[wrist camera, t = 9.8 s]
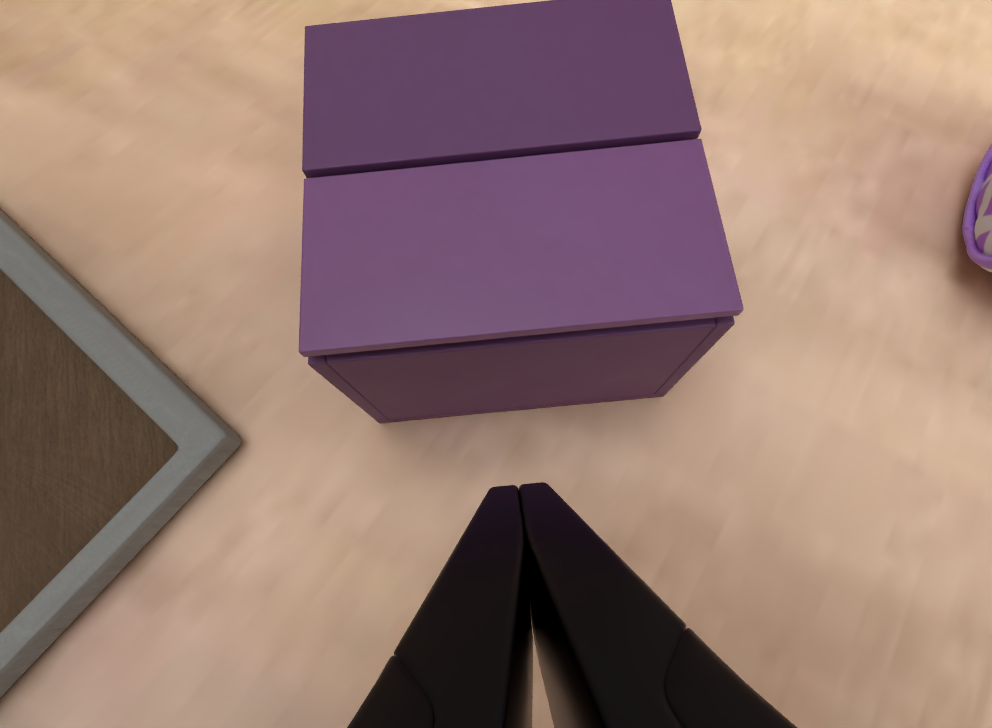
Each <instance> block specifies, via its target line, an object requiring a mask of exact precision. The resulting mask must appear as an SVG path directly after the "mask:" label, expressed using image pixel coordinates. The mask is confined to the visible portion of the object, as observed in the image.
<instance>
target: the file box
mask: <svg viewBox="0 0 992 728" xmlns="http://www.w3.org/2000/svg"><path fill="white" fill-rule="evenodd" d="M700 132H701V126H700V122H699V118H698V113H697V109H696V105H695V101H694V96H693V92H692V88H691V84H690V79H689V75H688V71H687V67H686V62H685V58H684V54H683V50H682V45H681V41H680V37H679V33H678V28H677V24H676V20H675V16H674V11H673V7H672V3H671V0H551V1H541V2H532V3H522V4H513V5H503V6H494V7H484V8H474V9H465V10H455V11H446V12H436V13H427V14H417V15H408V16H398V17H389V18H379V19H370V20H360V21H351V22H341V23H332V24H322V25H313V26H306V27H305V56H304V108H303V160H302V170H303V172H304V174H305V176H306V177H307V178H316V177H326V176H336V175H346V174H355V173H365V172H375V171H385V170H395V169H405V168H415V167H425V166H435V165H445V164H454V163H464V162H474V161H484V160H494V159H504V158H514V157H524V156H534V155H544V154H553V153H563V152H573V151H583V150H593V149H603V148H613V147H623V146H633V145H643V144H653V143H662V142H672V141H682V140H692V139H697V138H698V136H699V134H700ZM733 325H734V318H733V316H726V317H715V318H705V319H695V320H684V321H674V322H663V323H653V324H643V325H632V326H622V327H611V328H601V329H591V330H580V331H570V332H559V333H549V334H539V335H528V336H518V337H507V338H497V339H487V340H476V341H466V342H455V343H445V344H435V345H424V346H414V347H403V348H393V349H383V350H372V351H362V352H351V353H341V354H330V355H320V356H310V357H308V364H309V365H310V366H311V367H312V368H313V369H314V370H316V371H317V372H318V373H319V374H320V375H322V376H323V377H324V378H325V379H327V380H328V381H329V382H330V383H331V384H333V385H334V386H335V387H336V388H337V389H339V390H340V391H341V392H342V393H344V394H345V395H346V396H347V397H348V398H350V399H351V400H352V401H353V402H354V403H356V404H357V405H358V406H359V407H361V408H362V409H363V410H364V411H365V412H367V413H368V414H369V415H370V416H371V417H373V418H374V419H375V420H376V421H377V422H379V423H385V422H396V421H407V420H417V419H428V418H439V417H449V416H460V415H470V414H481V413H492V412H502V411H513V410H524V409H534V408H545V407H555V406H566V405H577V404H587V403H598V402H609V401H619V400H630V399H640V398H651V397H662V396H664V395H665V394H666V393H667V392H668V391H669V390H670V389H671V388H672V387H673V386H674V385H675V384H676V383H677V382H678V381H679V380H680V379H681V378H682V377H683V376H684V375H685V374H686V373H687V371H688V370H689V369H690V368H691V367H692V366H693V365H694V364H695V363H696V362H697V361H698V360H699V359H700V358H701V357H702V356H703V355H704V354H705V353H706V352H707V351H708V350H709V349H710V348H711V347H712V346H713V345H714V344H715V343H716V342H717V341H718V340H719V339H720V338H721V337H722V336H723V335H724V334H725V333H726V332H727V331H728V330H729V329H730V328H731V327H732V326H733Z"/></svg>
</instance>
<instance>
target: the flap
mask: <svg viewBox="0 0 992 728" xmlns="http://www.w3.org/2000/svg"><path fill="white" fill-rule="evenodd" d="M742 311H743V305H742V301H741V297H740V293H739V289H738V285H737V281H736V277H735V273H734V269H733V265H732V261H731V257H730V253H729V249H728V245H727V241H726V237H725V233H724V229H723V225H722V221H721V217H720V213H719V209H718V205H717V201H716V197H715V193H714V189H713V185H712V181H711V177H710V173H709V169H708V165H707V161H706V157H705V153H704V149H703V145H702V140H701V139H692V140H682V141H672V142H662V143H653V144H643V145H633V146H623V147H613V148H603V149H593V150H583V151H573V152H563V153H553V154H544V155H534V156H524V157H514V158H504V159H494V160H484V161H474V162H464V163H454V164H445V165H435V166H425V167H415V168H405V169H395V170H385V171H375V172H365V173H355V174H346V175H336V176H326V177H316V178H306V179H304V199H303V231H302V264H301V297H300V330H299V353H300V354H301V355H303V356H304V357H310V356H320V355H330V354H341V353H351V352H362V351H372V350H383V349H393V348H403V347H414V346H424V345H435V344H445V343H455V342H466V341H476V340H487V339H497V338H507V337H518V336H528V335H539V334H549V333H559V332H570V331H580V330H591V329H601V328H611V327H622V326H632V325H643V324H653V323H663V322H674V321H684V320H695V319H705V318H715V317H726V316H736V315H739V314H740V313H741V312H742Z"/></svg>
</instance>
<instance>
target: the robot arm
mask: <svg viewBox="0 0 992 728" xmlns="http://www.w3.org/2000/svg"><path fill="white" fill-rule="evenodd" d="M531 620H532V623H531ZM532 627H533V634H534V641H535V646H536V651H537V656H538V660H539V664H540V668H541V673H542V677H543V681H544V685H545V690H546V694H547V698H548V702H549V707H550V711H551V715H552V719H553V724H554V728H797V727H796V726H795V725H794V724H792V723H791V722H790V721H789V720H788V719H787V718H785V717H784V716H783V715H782V714H781V713H780V712H779V711H777V710H776V709H775V708H774V707H773V706H772V705H770V704H769V703H768V702H767V701H766V700H765V699H764V698H762V697H761V696H760V695H759V694H758V693H757V692H756V691H754V690H753V689H752V688H751V687H750V686H749V685H747V684H746V683H745V682H744V681H743V680H742V679H741V678H740V677H739V676H738V675H737V674H736V673H735V672H734V671H733V670H732V669H731V668H730V667H729V666H728V665H727V664H725V663H724V662H723V661H722V660H721V659H720V658H719V657H718V656H717V655H716V654H715V653H714V652H713V651H712V650H711V649H710V648H709V647H708V646H707V645H706V644H705V643H704V642H703V641H702V640H701V639H700V638H699V637H698V636H697V635H696V634H695V633H694V632H693V631H692V630H691V629H690V628H687V629H686V624H685V623H684V622H683V621H682V620H681V619H680V618H679V617H678V616H677V615H676V614H675V613H674V612H673V611H672V610H671V609H670V608H669V607H668V606H667V605H666V604H665V603H664V602H663V601H662V600H661V599H660V598H659V597H658V596H657V595H656V594H655V593H654V592H653V591H652V590H651V588H650V587H649V586H648V585H647V584H646V583H645V582H644V581H643V580H642V579H641V578H640V577H639V576H638V575H637V574H636V573H635V572H634V571H633V570H632V569H631V568H630V567H629V566H628V565H627V564H626V563H625V562H624V561H623V560H622V559H621V558H620V557H619V556H618V555H617V554H616V553H615V552H614V551H613V550H612V549H611V548H610V547H609V546H608V545H607V544H606V543H605V542H604V541H603V540H602V539H601V538H600V537H599V536H598V535H597V534H596V533H595V532H594V531H593V530H592V529H591V528H590V527H589V526H588V525H587V524H586V523H585V522H584V521H583V520H582V519H581V518H580V516H579V515H578V514H577V513H576V512H575V511H574V510H573V509H572V508H571V507H570V506H569V505H568V504H567V503H566V502H565V501H564V500H563V499H562V498H561V497H560V496H559V495H558V494H557V493H556V492H555V491H554V490H553V489H552V488H551V487H550V486H549V485H548V484H546V483H543V482H542V483H531V484H523V485H521V486H520V487H519V490H518V488H517V486H515V485H510V486H499V487H492V488H491V489H489V491H488V493H487V494H486V496H485V498H484V499H483V501H482V503H481V505H480V506H479V508H478V510H477V511H476V513H475V515H474V516H473V518H472V520H471V522H470V523H469V525H468V527H467V528H466V530H465V532H464V534H463V535H462V537H461V539H460V540H459V542H458V544H457V545H456V547H455V549H454V551H453V552H452V554H451V556H450V557H449V559H448V561H447V563H446V564H445V566H444V568H443V569H442V571H441V573H440V574H439V576H438V578H437V580H436V581H435V583H434V585H433V586H432V588H431V590H430V591H429V593H428V595H427V597H426V598H425V600H424V602H423V603H422V605H421V607H420V609H419V610H418V612H417V614H416V615H415V617H414V619H413V620H412V622H411V624H410V626H409V627H408V629H407V631H406V632H405V634H404V636H403V638H402V639H401V641H400V643H399V644H398V646H397V648H396V649H395V651H394V656H392V657H391V658H390V659H389V661H388V663H387V664H386V666H385V668H384V669H383V671H382V673H381V675H380V676H379V678H378V680H377V681H376V683H375V685H374V686H373V688H372V690H371V691H370V693H369V694H368V696H367V697H366V699H365V701H364V702H363V704H362V705H361V707H360V709H359V710H358V712H357V713H356V715H355V717H354V718H353V720H352V721H351V723H350V724H349V726H348V727H347V728H532V698H533V636H532Z"/></svg>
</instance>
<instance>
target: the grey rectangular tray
mask: <svg viewBox="0 0 992 728" xmlns="http://www.w3.org/2000/svg"><path fill="white" fill-rule="evenodd" d="M241 441H242V440H241V438H240V437H239V436H238V435H237V434H236V433H235V432H234V431H233V430H232V429H231V428H230V427H229V426H228V425H227V424H226V423H225V422H224V421H223V420H222V419H221V418H220V417H219V416H218V415H217V414H216V413H215V412H214V411H212V410H211V409H210V408H209V407H208V406H207V405H206V404H205V403H204V402H203V401H202V400H201V399H200V398H199V397H198V396H197V395H196V394H195V393H194V392H192V391H191V390H190V389H189V388H188V387H187V386H186V385H185V384H184V383H183V382H182V381H181V380H180V379H179V378H178V377H177V376H176V375H175V374H174V373H172V372H171V371H170V370H169V369H168V368H167V367H166V366H165V365H164V364H163V363H162V362H161V361H160V360H159V359H158V358H157V357H156V356H155V355H154V354H152V353H151V352H150V351H149V350H148V349H147V348H146V347H145V346H144V345H143V344H142V343H141V342H140V341H139V340H138V339H137V338H136V337H135V336H134V335H132V334H131V333H130V332H129V331H128V330H127V329H126V328H125V327H124V326H123V325H122V324H121V323H120V322H119V321H118V320H117V319H116V318H115V317H114V316H112V315H111V314H110V313H109V312H108V311H107V310H106V309H105V308H104V307H103V306H102V305H101V304H100V303H99V302H98V301H97V300H96V299H95V298H94V297H92V296H91V295H90V294H89V293H88V292H87V291H86V290H85V289H84V288H83V287H82V286H81V285H80V284H79V283H78V282H77V281H76V280H75V279H74V278H72V277H71V276H70V275H69V274H68V273H67V272H66V271H65V270H64V269H63V268H62V267H61V266H60V265H59V264H58V263H57V262H56V261H55V260H54V259H52V258H51V257H50V256H49V255H48V254H47V253H46V252H45V251H44V250H43V249H42V248H41V247H40V246H39V245H38V244H37V243H36V242H35V241H34V240H32V239H31V238H30V237H29V236H28V235H27V234H26V233H25V232H24V231H23V230H22V229H21V228H20V227H19V226H18V225H17V224H16V223H15V222H14V221H12V220H11V219H10V218H9V217H8V216H7V215H6V214H5V213H4V212H3V211H2V210H1V209H0V697H1V696H2V695H3V694H4V693H5V692H6V691H7V690H8V689H9V688H10V687H11V686H12V685H13V684H14V683H15V682H16V680H17V679H18V678H19V677H20V676H21V675H22V674H23V673H24V672H25V671H26V670H27V669H28V668H29V667H30V666H31V665H32V664H33V663H34V662H35V661H36V659H37V658H38V657H39V656H40V655H41V654H42V653H43V652H44V651H45V650H46V649H47V648H48V647H49V646H50V645H51V644H52V643H53V642H54V641H55V640H56V638H57V637H58V636H59V635H60V634H61V633H62V632H63V631H64V630H65V629H66V628H67V627H68V626H69V625H70V624H71V623H72V622H73V621H74V620H75V618H76V617H77V616H78V615H79V614H80V613H81V612H82V611H83V610H84V609H85V608H86V607H87V606H88V605H89V604H90V603H91V602H92V601H93V600H94V599H95V597H96V596H97V595H98V594H99V593H100V592H101V591H102V590H103V589H104V588H105V587H106V586H107V585H108V584H109V583H110V582H111V581H112V580H113V579H114V578H115V576H116V575H117V574H118V573H119V572H120V571H121V570H122V569H123V568H124V567H125V566H126V565H127V564H128V563H129V562H130V561H131V560H132V559H133V558H134V556H135V555H136V554H137V553H138V552H139V551H140V550H141V549H142V548H143V547H144V546H145V545H146V544H147V543H148V542H149V541H150V540H151V539H152V538H153V537H154V535H155V534H156V533H157V532H158V531H159V530H160V529H161V528H162V527H163V526H164V525H165V524H166V523H167V522H168V521H169V520H170V519H171V518H172V517H173V516H174V514H175V513H176V512H177V511H178V510H179V509H180V508H181V507H182V506H183V505H184V504H185V503H186V502H187V501H188V500H189V499H190V498H191V497H192V496H193V495H194V493H195V492H196V491H197V490H198V489H199V488H200V487H201V486H202V485H203V484H204V483H205V482H206V481H207V480H208V479H209V478H210V477H211V476H212V475H213V473H214V472H215V471H216V470H217V469H218V468H219V467H220V466H221V465H222V464H223V463H224V462H225V461H226V460H227V459H228V458H229V457H230V455H231V454H232V453H233V452H234V451H235V450H236V449H237V448H238V446H239V445H240V444H241Z"/></svg>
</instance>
